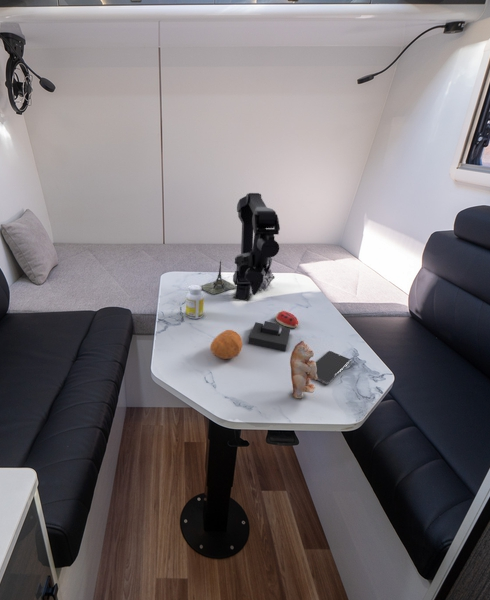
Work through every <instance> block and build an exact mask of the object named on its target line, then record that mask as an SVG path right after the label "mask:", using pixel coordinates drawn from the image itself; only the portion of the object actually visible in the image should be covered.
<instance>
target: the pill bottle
mask: <svg viewBox="0 0 490 600" xmlns="http://www.w3.org/2000/svg"><path fill="white" fill-rule="evenodd" d="M201 286H202V285H199V284H191V285H189V286H188V292H187V293H186V295H185V315H186V317H187V318H189V319H194V320H195V319H196V320H197V319H200V318H202V317H203V316H204V302H205V301H204V300H205V295H204V293H203V292H202V291H203V289H202V287H201Z"/></svg>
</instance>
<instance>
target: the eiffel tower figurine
mask: <svg viewBox="0 0 490 600" xmlns="http://www.w3.org/2000/svg"><path fill="white" fill-rule="evenodd" d="M221 270H222V261H221V260H220V261H219V268H218V275H217V277H216V279H215V281H212V282H209V283H206V284H202V285H200V286H201V287H202V291H203V290H204V291H206V292H208V293H210V294H212V295H214V294H220V293H222V292H225V291H229V290H233V289H236V287H237V285H235V284H234V283H231V282H229V281H227V280H225V279H223V278H222V271H221Z"/></svg>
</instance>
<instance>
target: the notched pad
mask: <svg viewBox="0 0 490 600" xmlns="http://www.w3.org/2000/svg"><path fill="white" fill-rule="evenodd" d="M263 325H264V323H261V322H257V321H256V322H254V324H253V327H252V329H251V331H250V334H249V336H248V342H247V343H248V344H249V345H254V346H258V347H263V348H267V349H271V350H278V351H281V352H286V350H287V346H288V343H289V339H290V334H291V328H289V327H281V329H280V332H279V335H278V336H276V335H271V334H266V333H262V328H263Z"/></svg>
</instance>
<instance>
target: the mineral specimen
mask: <svg viewBox="0 0 490 600" xmlns="http://www.w3.org/2000/svg"><path fill="white" fill-rule="evenodd" d="M275 278H276V277H275V275H274V274H273V271H272V269H271V268H270V269H269V270H268V272H267V274H266V276H265V279H264V281H263V282H262V284H261V286H260V288H259V289H258V290H260V291H266V290H267V289H268V287H269V286H270V284H271V283H272V281H273V280H274V279H275Z"/></svg>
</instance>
